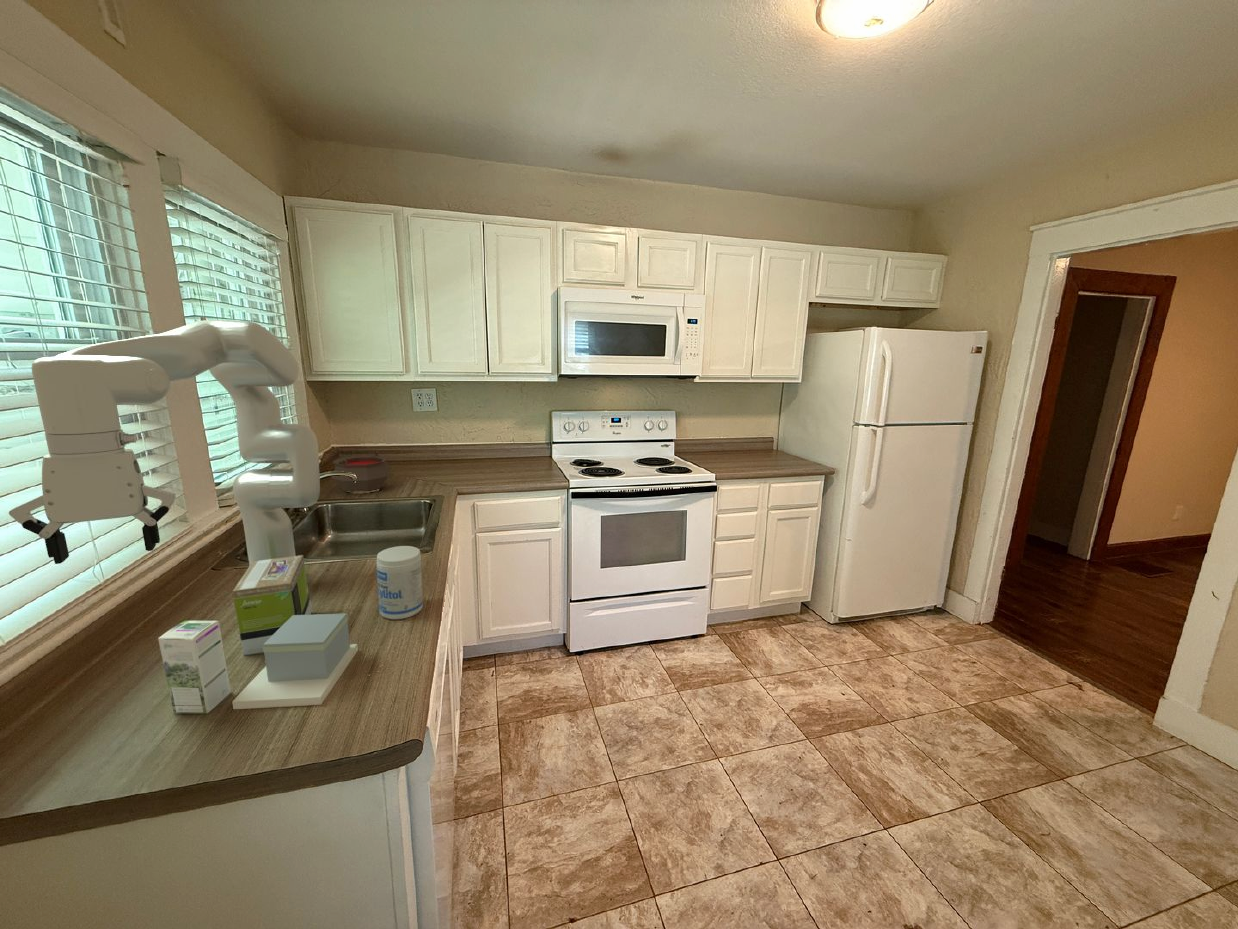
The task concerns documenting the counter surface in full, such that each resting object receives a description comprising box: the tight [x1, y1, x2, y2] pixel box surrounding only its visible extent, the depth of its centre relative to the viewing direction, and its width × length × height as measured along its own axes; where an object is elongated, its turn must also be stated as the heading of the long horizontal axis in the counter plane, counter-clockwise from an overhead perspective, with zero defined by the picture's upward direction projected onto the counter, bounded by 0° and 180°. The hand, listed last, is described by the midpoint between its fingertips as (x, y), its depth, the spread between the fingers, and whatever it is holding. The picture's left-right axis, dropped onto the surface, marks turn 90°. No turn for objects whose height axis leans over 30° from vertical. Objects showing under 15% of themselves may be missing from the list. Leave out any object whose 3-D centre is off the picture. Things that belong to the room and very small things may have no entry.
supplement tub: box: [376, 545, 424, 620], centre depth 115 cm, size 10×10×15 cm
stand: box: [231, 613, 359, 710], centre depth 91 cm, size 16×14×9 cm
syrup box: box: [158, 620, 232, 715], centre depth 83 cm, size 6×6×14 cm
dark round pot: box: [330, 449, 393, 492], centre depth 212 cm, size 24×24×16 cm
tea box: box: [231, 554, 312, 656], centre depth 104 cm, size 15×10×15 cm, turn 23°
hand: (108, 554), depth 74 cm, fingers open, 9 cm apart
